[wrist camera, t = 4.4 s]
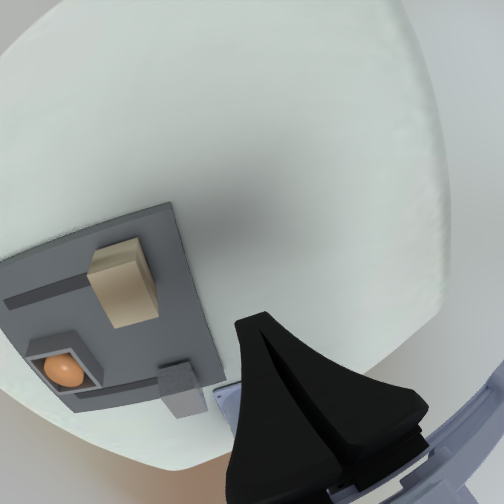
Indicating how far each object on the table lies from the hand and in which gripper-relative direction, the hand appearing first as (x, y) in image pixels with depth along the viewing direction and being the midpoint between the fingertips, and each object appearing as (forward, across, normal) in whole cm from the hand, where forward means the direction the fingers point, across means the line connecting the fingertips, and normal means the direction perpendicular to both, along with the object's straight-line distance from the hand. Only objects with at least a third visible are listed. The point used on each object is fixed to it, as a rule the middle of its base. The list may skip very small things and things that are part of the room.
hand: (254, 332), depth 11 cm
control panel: (+10, +11, +6) cm, 16 cm away
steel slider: (+8, +6, +12) cm, 16 cm away
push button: (+9, +15, +6) cm, 18 cm away
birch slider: (+8, +6, 0) cm, 10 cm away
